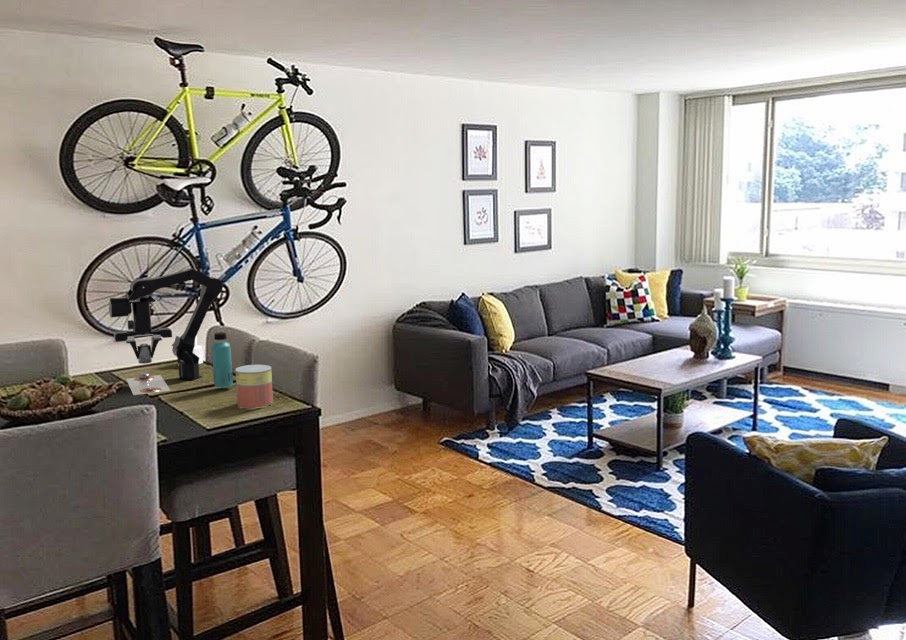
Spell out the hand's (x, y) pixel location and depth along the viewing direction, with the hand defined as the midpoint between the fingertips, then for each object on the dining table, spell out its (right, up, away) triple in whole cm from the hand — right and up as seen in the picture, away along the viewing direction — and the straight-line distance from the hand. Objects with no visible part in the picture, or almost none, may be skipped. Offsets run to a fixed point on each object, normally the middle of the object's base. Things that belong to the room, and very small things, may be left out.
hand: (144, 358), depth 273 cm
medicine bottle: (+5, -4, +32) cm, 33 cm away
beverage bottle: (+30, -11, -6) cm, 32 cm away
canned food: (+46, -14, -25) cm, 54 cm away
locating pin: (0, -1, 0) cm, 1 cm away
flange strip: (+1, -10, +1) cm, 10 cm away
